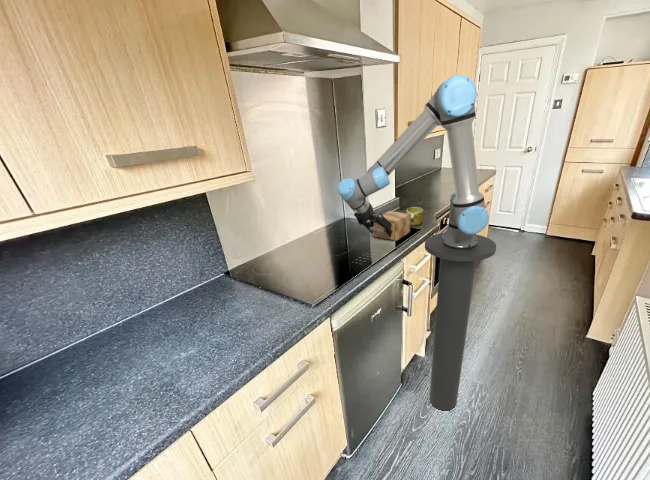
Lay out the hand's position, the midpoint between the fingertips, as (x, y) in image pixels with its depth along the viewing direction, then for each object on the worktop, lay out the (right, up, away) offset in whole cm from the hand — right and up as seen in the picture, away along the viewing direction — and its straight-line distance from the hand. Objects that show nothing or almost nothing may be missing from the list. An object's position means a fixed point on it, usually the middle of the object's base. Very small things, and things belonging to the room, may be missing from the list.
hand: (381, 232), depth 152 cm
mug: (+19, +8, +23) cm, 31 cm away
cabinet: (+6, +1, +10) cm, 12 cm away
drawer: (+3, -1, +6) cm, 7 cm away
